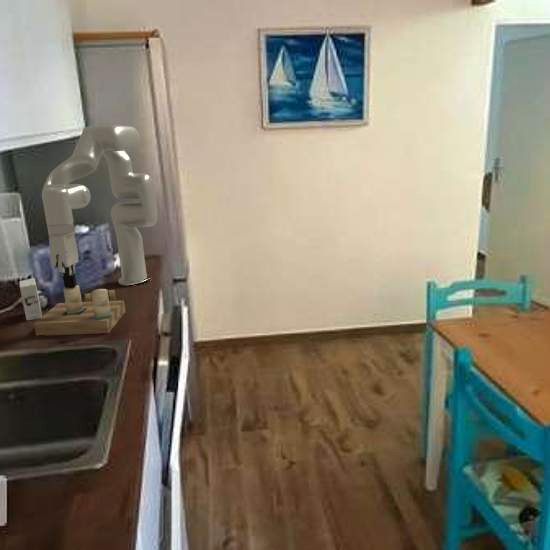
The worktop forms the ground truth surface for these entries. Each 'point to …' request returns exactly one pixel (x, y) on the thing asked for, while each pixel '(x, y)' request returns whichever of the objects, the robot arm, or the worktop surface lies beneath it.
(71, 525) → the worktop surface
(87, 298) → the gavel
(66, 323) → the board
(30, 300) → the ink box
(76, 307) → the peg
